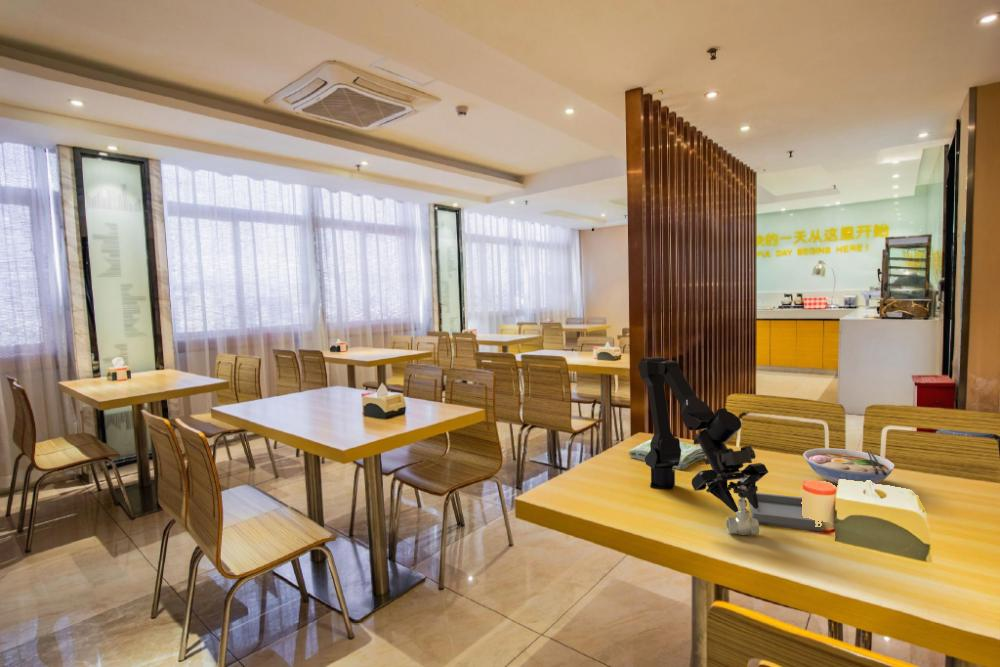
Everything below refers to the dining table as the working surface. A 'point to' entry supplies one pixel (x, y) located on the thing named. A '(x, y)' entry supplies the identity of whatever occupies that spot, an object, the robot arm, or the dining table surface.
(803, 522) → the parts tray
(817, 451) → the ramen bowl
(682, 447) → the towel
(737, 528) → the valve
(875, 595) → the dining table surface
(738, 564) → the dining table surface
